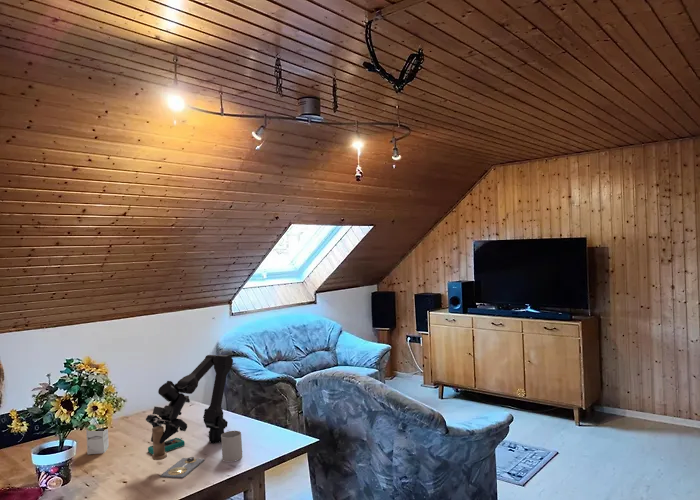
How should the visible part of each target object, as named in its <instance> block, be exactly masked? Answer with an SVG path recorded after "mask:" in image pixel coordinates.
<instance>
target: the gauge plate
mask: <svg viewBox="0 0 700 500" xmlns="http://www.w3.org/2000/svg"><path fill="white" fill-rule="evenodd" d="M204 461H205V458H194V457H193V456H191V457H182V458H181V459H179V461H177V462H176V463H174V464H173V465H172V466H171V467H169V468H168V469H166V470H165V471H164V472H163V473H161V474H160V475H159V477H160V478H172V479H173V478H174V479H184V478H186V476H188V475H189V474H190V473H191V472H193V470H195V469H196V468H197V467H199V465H201V464H202V463H203V462H204Z"/></svg>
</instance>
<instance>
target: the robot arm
mask: <svg viewBox="0 0 700 500" xmlns="http://www.w3.org/2000/svg"><path fill="white" fill-rule="evenodd" d="M233 363H234V359H233V357H232V355H225V354H218V355H215V354H207V355H205V358H204V359H203V360H202V361H201V362H200V363H199V364H198V365H197V366H196V367H195V369H193V371H192V372H191V373H189V374H187V375H185V376H183V377H182V378H181V379H179V380H178V381H177V383H175V384H174V382H173V381H172V380H166V382H165V383H163V384H162V385H161V386H159V389H158V391H157V393H158V395H160V396H161V397H162V398H163V399H164V400H165V401H167V402H169V403H168V405H165V406H164V407H160V406H154V407H153V410H152V414H148V415H147V416H146V418H145V421H146V422H148V424H150V425H152V428H154V427H157V426H165V427H164V433H163V435H162V437H161V439H160V442H159V443H160V444H162V443H163V442H165V441H168V439H169V438H170V437H172V436H173V435H175V434H176V433H178V432H179V431H180V432H186V431H187V429H188V424H187V423H186V422H185V421H184V420H183V419H182V418H178V417H179V416H182V413H183V412H181V411H182V410H183V407H184V405H185V404H186V403H189V404H190V402H191V401H190V397H189V395H191V394H193V393H194V392H195V391H196V390H197V388H198V385H199V382H200V380H202V378H203V377H204V376H205V375H206V374H207V373H208V372H209V371H210V369H212V368H214V372H215V376H214V377H215V378H214V381H213V382H214V383H213V388H212V394H211V400H210V405H209V406H208V407H207V408H204V412H203V416H202V418H203V423H204V425H205V427H206V429H209V430H208V441H209V442H210V444H218V443H222V442H221V435H222V434H223V433H225V429H226V428H228V421H227V420H226V419H225V418H224V411H223V408H222V403H223V399H224V392H225V386H226V382H227V381H226V380H227V377H228V375H229V373H230V371H231V370H232V367H233ZM185 394H188V395H185ZM150 442H151V443H153V436H152V435H151V438H150Z"/></svg>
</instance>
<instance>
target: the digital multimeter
mask: <svg viewBox="0 0 700 500" xmlns="http://www.w3.org/2000/svg"><path fill="white" fill-rule="evenodd" d="M164 442H165V452H166V453H167V452H170V451H172V450H176V449H179V448H181V447H184V446H185V443H186V442H185V441H184V440H183V439H182V438H180V437H175V438H172V439H169V440H168V439H167V440H165V441H164ZM147 452H148V453H149V454H151V455H153V454H154V452H153V445H150V446H148V447H147Z"/></svg>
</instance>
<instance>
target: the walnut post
mask: <svg viewBox="0 0 700 500" xmlns="http://www.w3.org/2000/svg"><path fill="white" fill-rule="evenodd" d="M151 430H152V431H151V437H152V436H153V442H152V446H153V452H154V454H151V458H152V460H153V461H161V460H164V459H166V458H167V457H168V455H167V454H168V453H167V452H165V441H164V442H163V443H162V444H160V443H159V442H160V439H161V437H162V435H163V433H164V431H165V427H164V425H162V426H157V427H154V428H153V427H152V428H151Z"/></svg>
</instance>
